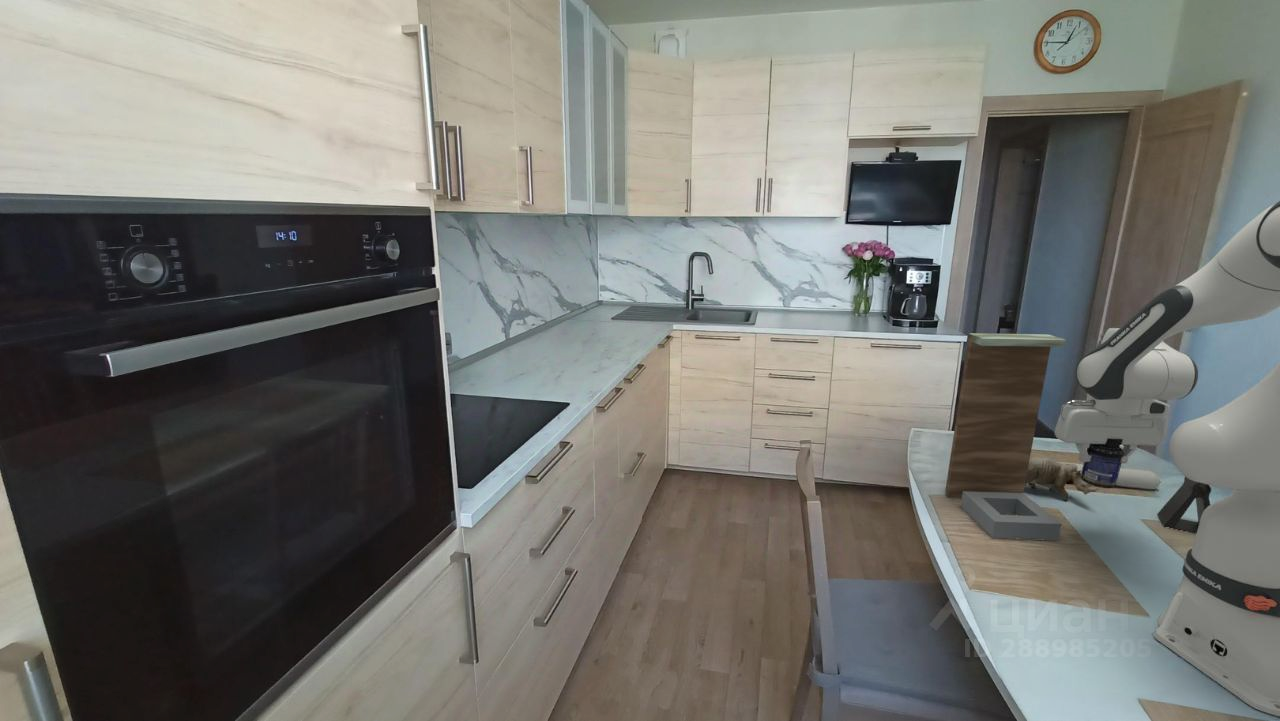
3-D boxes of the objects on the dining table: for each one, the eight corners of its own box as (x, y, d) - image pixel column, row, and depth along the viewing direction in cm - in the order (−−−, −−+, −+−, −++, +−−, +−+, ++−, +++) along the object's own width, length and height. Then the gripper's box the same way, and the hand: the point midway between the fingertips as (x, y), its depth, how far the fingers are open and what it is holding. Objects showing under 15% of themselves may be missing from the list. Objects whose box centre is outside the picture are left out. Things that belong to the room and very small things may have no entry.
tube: (1151, 469, 149) (1043, 459, 154) (1165, 472, 143) (1053, 460, 149) (1150, 490, 148) (1043, 478, 154) (1164, 493, 143) (1052, 481, 149)
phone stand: (1208, 525, 129) (1222, 477, 126) (1217, 538, 124) (1231, 488, 121) (1156, 515, 133) (1168, 468, 130) (1163, 526, 128) (1175, 478, 125)
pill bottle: (1121, 490, 119) (1134, 442, 116) (1089, 487, 121) (1101, 439, 118) (1105, 477, 125) (1116, 431, 122) (1074, 474, 126) (1085, 428, 123)
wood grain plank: (1033, 508, 136) (1065, 339, 126) (956, 506, 137) (982, 338, 127) (1018, 496, 142) (1048, 334, 131) (944, 494, 143) (969, 333, 132)
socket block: (1058, 540, 122) (1061, 523, 121) (991, 538, 123) (994, 521, 122) (1020, 508, 136) (1023, 493, 135) (960, 506, 137) (962, 491, 136)
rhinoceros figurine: (1005, 467, 152) (1052, 434, 143) (1049, 506, 148) (1101, 475, 138) (999, 479, 147) (1048, 446, 137) (1045, 520, 142) (1099, 489, 133)
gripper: (1074, 404, 116) (1061, 466, 119) (1179, 406, 115) (1163, 469, 118) (1054, 395, 122) (1042, 454, 125) (1153, 397, 121) (1139, 457, 124)
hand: (1102, 461), depth 122 cm, fingers closed on pill bottle, 6 cm apart
